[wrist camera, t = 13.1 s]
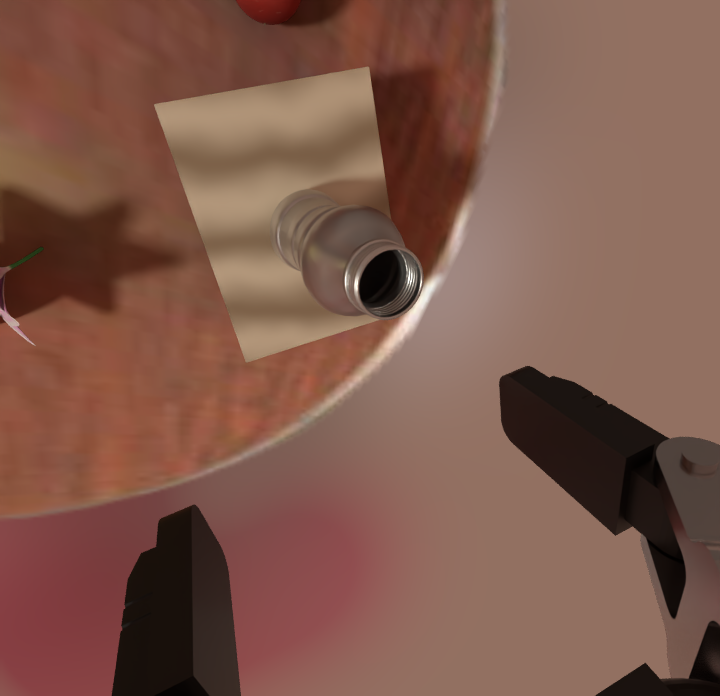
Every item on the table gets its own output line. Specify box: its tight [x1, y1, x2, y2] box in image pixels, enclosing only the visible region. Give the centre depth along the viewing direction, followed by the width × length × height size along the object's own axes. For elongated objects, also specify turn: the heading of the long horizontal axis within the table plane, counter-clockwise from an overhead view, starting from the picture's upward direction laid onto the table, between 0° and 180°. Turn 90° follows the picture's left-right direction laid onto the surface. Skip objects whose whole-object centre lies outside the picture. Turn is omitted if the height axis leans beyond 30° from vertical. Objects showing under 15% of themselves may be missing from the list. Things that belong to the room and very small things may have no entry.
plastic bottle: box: [270, 189, 424, 320], centre depth 29 cm, size 6×7×20 cm
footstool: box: [154, 67, 391, 363], centre depth 41 cm, size 22×17×8 cm
